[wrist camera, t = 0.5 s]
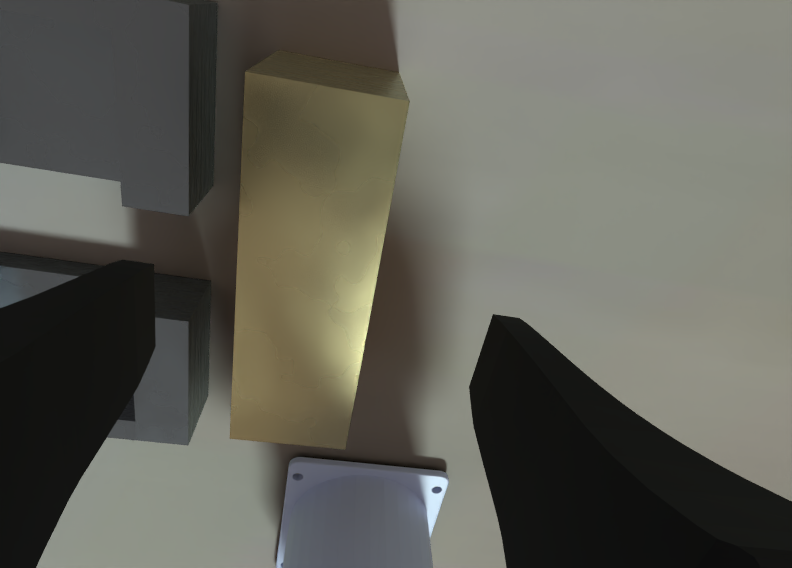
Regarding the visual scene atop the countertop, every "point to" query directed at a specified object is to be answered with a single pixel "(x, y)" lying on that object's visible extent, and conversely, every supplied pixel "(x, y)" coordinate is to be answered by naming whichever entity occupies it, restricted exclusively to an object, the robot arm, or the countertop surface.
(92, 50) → the chain end
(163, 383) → the chain end
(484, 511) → the countertop surface
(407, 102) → the link bar
